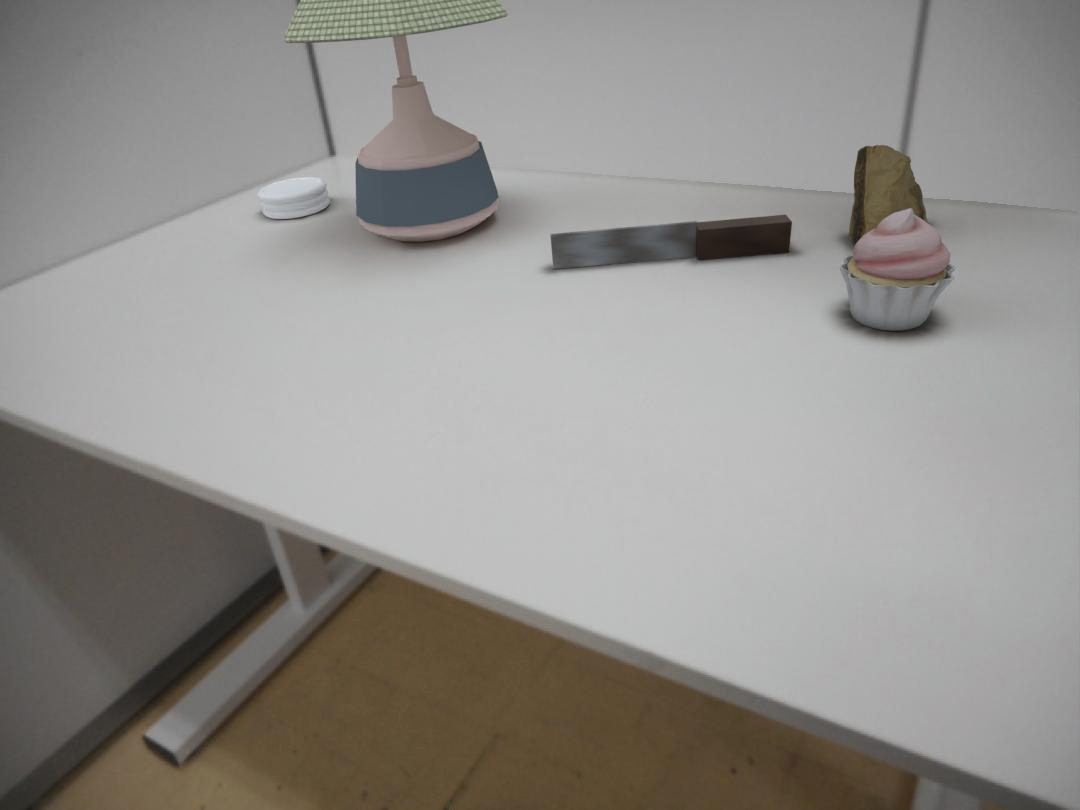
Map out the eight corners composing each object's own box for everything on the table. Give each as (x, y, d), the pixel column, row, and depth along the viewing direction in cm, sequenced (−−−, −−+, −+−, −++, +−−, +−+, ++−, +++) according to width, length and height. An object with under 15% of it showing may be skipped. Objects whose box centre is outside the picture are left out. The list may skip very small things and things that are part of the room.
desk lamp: (573, 214, 99) (546, -180, 76) (389, 282, 84) (290, -177, 62) (463, 182, 116) (415, -146, 94) (294, 235, 102) (190, -138, 79)
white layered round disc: (311, 194, 118) (305, 172, 116) (342, 205, 112) (337, 182, 110) (252, 212, 113) (245, 189, 111) (281, 225, 106) (274, 200, 104)
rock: (913, 191, 88) (830, 188, 87) (955, 142, 80) (864, 138, 79) (929, 272, 84) (842, 268, 83) (974, 228, 76) (879, 225, 75)
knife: (783, 244, 84) (786, 209, 81) (789, 252, 82) (792, 217, 79) (553, 264, 85) (550, 230, 83) (553, 272, 83) (550, 238, 81)
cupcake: (923, 351, 62) (947, 235, 56) (815, 323, 67) (828, 216, 62) (961, 309, 67) (987, 200, 62) (859, 287, 73) (874, 185, 68)
